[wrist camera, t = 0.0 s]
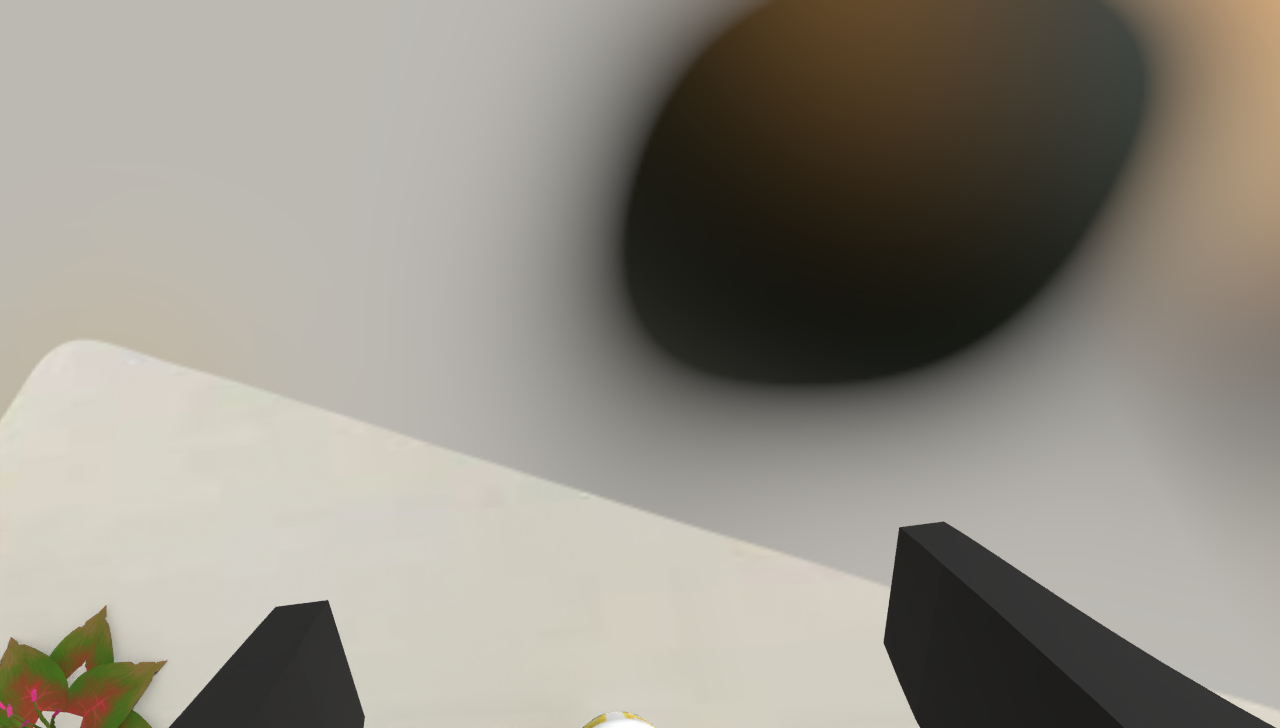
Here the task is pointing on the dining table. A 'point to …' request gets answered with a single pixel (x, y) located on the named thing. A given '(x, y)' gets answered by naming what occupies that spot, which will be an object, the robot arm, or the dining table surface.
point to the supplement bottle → (619, 721)
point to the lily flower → (103, 695)
